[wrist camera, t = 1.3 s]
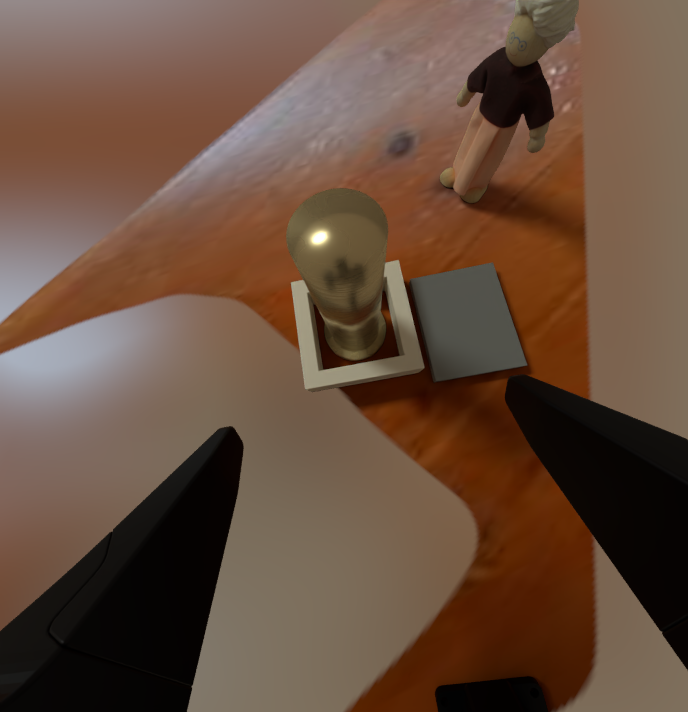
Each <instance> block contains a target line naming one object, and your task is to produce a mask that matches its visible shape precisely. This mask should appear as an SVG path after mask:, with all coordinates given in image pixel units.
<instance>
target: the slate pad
mask: <svg viewBox="0 0 688 712" xmlns="http://www.w3.org/2000/svg"><path fill="white" fill-rule="evenodd" d="M409 285H410V289H411V293H412V298H413V302H414V306H415V310H416V314H417V318H418V322H419V326H420V330H421V334H422V338H423V342H424V346H425V350H426V354H427V358H428V362H429V366H430V370H431V374H432V378H433V382H434V383H435V382H440V381H446V380H452V379H457V378H463V377H469V376H474V375H480V374H485V373H491V372H497V371H502V370H508V369H514V368H519V367H524V366H527V363H526V360H525V357H524V354H523V351H522V348H521V345H520V342H519V339H518V336H517V333H516V330H515V327H514V324H513V321H512V318H511V315H510V312H509V309H508V306H507V303H506V300H505V297H504V294H503V292H502V289H501V286H500V283H499V280H498V277H497V274H496V271H495V268H494V265H493V263H488V264H483V265H478V266H473V267H468V268H463V269H458V270H453V271H448V272H444V273H439V274H434V275H429V276H424V277H419V278H414V279H410V282H409Z"/></svg>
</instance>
